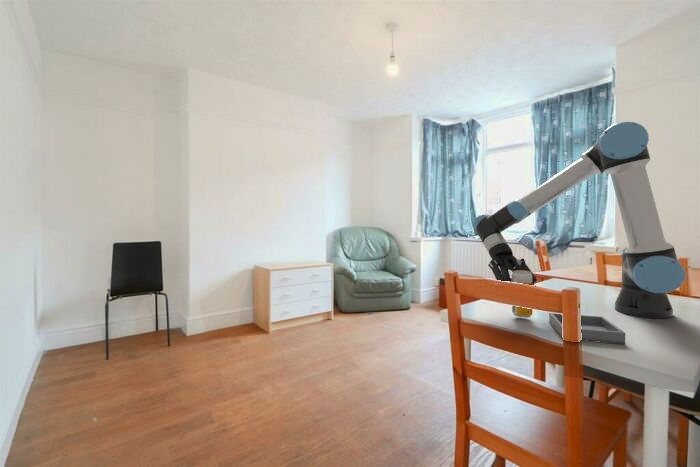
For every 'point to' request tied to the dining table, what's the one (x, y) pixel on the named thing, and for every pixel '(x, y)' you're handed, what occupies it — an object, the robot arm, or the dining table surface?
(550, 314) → the tray
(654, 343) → the dining table surface
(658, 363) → the dining table surface
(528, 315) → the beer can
